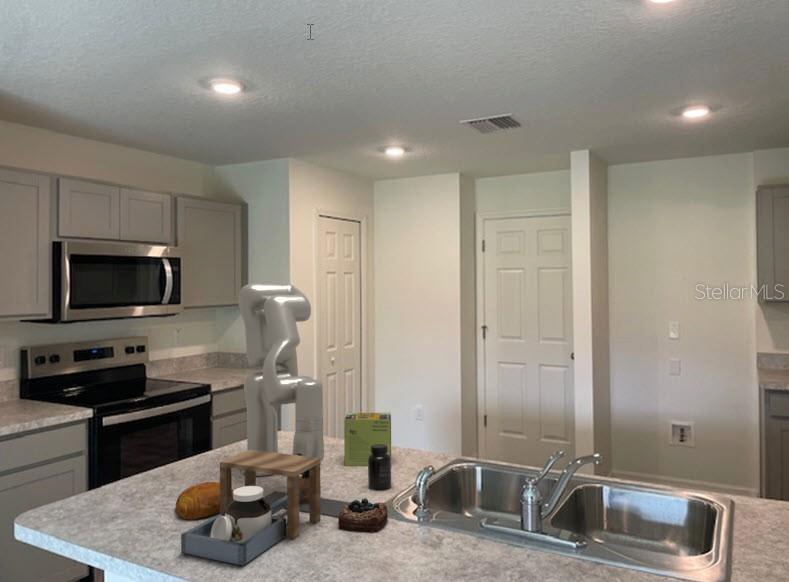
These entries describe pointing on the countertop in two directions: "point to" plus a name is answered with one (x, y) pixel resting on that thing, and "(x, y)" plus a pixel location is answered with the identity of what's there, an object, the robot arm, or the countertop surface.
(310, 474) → the walnut table
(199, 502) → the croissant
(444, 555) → the countertop surface
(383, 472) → the supplement bottle
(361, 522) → the pastry
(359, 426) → the protein box
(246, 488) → the spread jar
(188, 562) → the countertop surface
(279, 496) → the pit mat
